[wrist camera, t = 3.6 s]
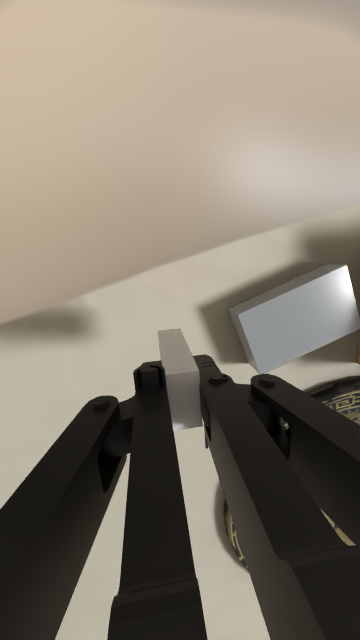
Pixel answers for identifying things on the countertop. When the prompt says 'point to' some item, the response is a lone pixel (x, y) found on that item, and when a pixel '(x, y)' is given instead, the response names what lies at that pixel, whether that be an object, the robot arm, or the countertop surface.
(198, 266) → the countertop surface
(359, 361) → the wooden u-bracket
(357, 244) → the countertop surface
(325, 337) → the grey rectangular block
